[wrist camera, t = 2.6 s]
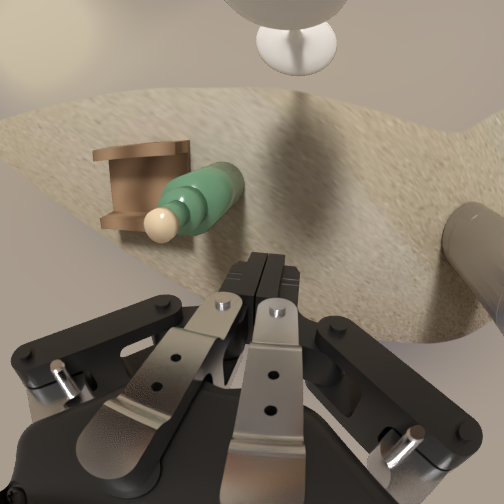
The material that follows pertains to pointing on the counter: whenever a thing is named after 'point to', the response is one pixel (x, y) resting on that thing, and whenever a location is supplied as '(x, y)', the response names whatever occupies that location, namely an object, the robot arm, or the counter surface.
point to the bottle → (194, 202)
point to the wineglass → (292, 32)
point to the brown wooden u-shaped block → (140, 179)
